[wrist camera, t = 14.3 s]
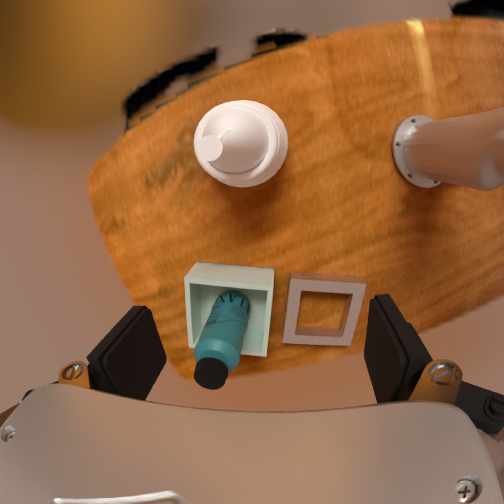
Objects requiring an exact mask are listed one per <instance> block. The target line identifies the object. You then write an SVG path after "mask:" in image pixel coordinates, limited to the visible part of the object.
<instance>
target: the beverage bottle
mask: <svg viewBox="0 0 504 504" xmlns="http://www.w3.org/2000/svg"><path fill="white" fill-rule="evenodd" d="M217 297H218V298H217V299H215V300H216V302H215V301H214V302H215V303H214V304H213V306H212V308H211V309H212V310H210V311H211V313H210V315H209V317H208V319H207V322H206V324H205V326H204V327H203V328H204V329H203V331H202V330H201V331H202V332H201V335H200V336H199V337H200V338H199V340H198V343H197V344H196V346H195V348H194V357H195V360H196V361H197V364H196V367H195V372H194V379H195V381H196V382H197V383H198V384H199V385H200V386H202V387H204V388H207V389H211V390H215V389H219V388H221V387H222V386H223V385H224V384H225V381H226V379H227V377H228V373H229V372H231V371H233V370H234V369H236V368H237V366H238V365H239V362H240V355H241V350H242V345H243V340H244V336H245V332H246V329H247V325H248V323H249V322H248V319H250V318H249V316H250V315H249V314H250V311H251V310H250V309H251V307H250V303H249V302H250V301H249V300H248V298H247V297H246V296H245V295H244V294H242V293H241V292H238V291H233V290H231V291H226V292H223V293H222V294H221V295H218V296H217Z"/></svg>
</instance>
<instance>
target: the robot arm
mask: <svg viewBox="0 0 504 504" xmlns="http://www.w3.org/2000/svg"><path fill="white" fill-rule="evenodd" d="M411 120H412V122H411ZM396 144H397V146H396ZM392 153H393V157H394V161H395V164H396V166H397V168H398V170H399V171H400V173H401V174H402V175H403V177H404V178H405V179H406V180H408V181H409V182H410V183H412V184H414V185H416V186H419V187H424V188H431V187H435V186H437V185H439V184H440V183H442V182H445V183H449V184H454V185H459V186H463V187H468V188H472V189H477V190H481V191H492V190H495V189H497V188H499V187H501V186H502V185H503V184H504V107H501V108H498V109H495V110H492V111H487V112H482V113H477V114H471V115H465V116H459V117H453V118H447V119H442V120H437V121H434V120H433V119H431V118H429V117H426V116H421V115H417V116H412V117H409V118H406V119H405V120H403V121H402V122H401V123H400V124H399V125H398V127H397V128H396V130H395V132H394V136H393V141H392ZM408 174H409V177H408ZM87 359H88V361H89V365H88V366H87V365H86V363H84V362H82V361H75V362H71V363H69V364H67V365H65V366H64V367H63V368H62V369H61V371H60V372H59V380H58V381H57V382H54V383H51V384H47V385H43V386H39V387H37V388H36V389H33V390H29V391H28V392H26V394H25V396H24V397H23V399H22V402H21V403H18V404H17V405H15V406H13V407H11V408H10V409H8V410H6V411H4V412H3V413H1V414H0V504H504V395H502V394H499V393H496V392H493V391H490V390H487V389H484V388H481V387H478V386H475V385H472V384H470V383H467V382H464V381H462V375H463V374H462V371H461V369H460V368H459V366H458V365H457V364H455V363H454V362H452V361H449V360H445V359H438V360H434V361H433V359H432V358H431V356H430V354H429V353H428V351H427V349H426V347H425V346H424V344H423V343H422V341H421V339H420V337H419V336H418V334H417V332H416V331H415V329H414V328H413V326H412V324H411V323H409V322H408V323H407V322H406V320H405V319H404V317H403V315H402V314H401V312H400V311H399V309H398V308H397V306H396V304H395V303H394V301H393V300H392V298H391V297H390V295H389V294H382V295H375V297H374V299H371V300H370V305H369V315H368V325H367V333H366V341H365V349H364V359H365V362H366V365H367V369H368V372H369V375H370V379H371V382H372V386H373V389H374V393H375V397H376V400H377V404H371V405H362V406H354V407H345V408H335V409H322V410H306V411H233V410H217V409H205V408H195V407H186V406H178V405H171V404H164V403H157V402H152V401H146V400H145V399H146V398H147V396H148V394H149V392H150V390H151V389H152V387H153V385H154V383H155V381H156V380H157V378H158V376H159V374H160V372H161V371H162V369H163V367H164V365H165V364H166V360H167V358H166V354H165V351H164V348H163V345H162V342H161V340H160V337H159V334H158V331H157V328H156V325H155V322H154V319H153V315H152V312H151V310H150V309H148V308H147V307H146V306H133V307H132V308H131V309H130V310H129V311H128V312H127V314H126V315H125V316H124V317H123V318H122V319H121V320H120V321H119V322H118V323H117V324H116V325H115V326H114V327H113V328H112V330H111V331H110V332H109V333H108V334H107V335H106V336H105V337H104V339H102V340H101V342H100V343H99V344H98V345H97V346H96V347H95V348H94V349H93V351H92V352H91V353H90V354H89V355H88V356H87Z"/></svg>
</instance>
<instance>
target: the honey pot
mask: <svg viewBox="0 0 504 504" xmlns="http://www.w3.org/2000/svg"><path fill="white" fill-rule="evenodd" d="M194 150H195V154H196V157H197V160H198V162H199V163H200V165H201V166H202V167H203V169H204V170H205V171H206V172H207V173H209V174H210V175H211V176H212V177H214V178H216V179H217V180H218V181H220V182H222V183H224V184H227V185H229V186H234V187H240V188H242V187H253V186H255V185H258V184H261V183H264V182H265V181H267V180H268V179H270V178H271V177H273V176H274V175H275V174H276V172H277V171H278V170H279V169H280V168H281V167H282V164H283V162H284V160H285V158H286V156H287V150H288V136H287V131H286V129H285V126H284V124H283V122H282V121H281V119H280V118H279V117H278V115H277V114H276V113H275V112H274V111H272V110H271V109H270V108H268V107H267V106H265V105H263V104H260V103H258V102H255V101H247V100H240V101H232V102H228V103H224V104H221V105H219V106H216V107H214V108H213V109H212V110H210V111H209V112H208V113H206V115H205V116H204V117H203V118H202V120H201V121H200V122H199V124H198V127H197V129H196V131H195V136H194Z"/></svg>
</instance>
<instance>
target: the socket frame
mask: <svg viewBox="0 0 504 504" xmlns="http://www.w3.org/2000/svg"><path fill="white" fill-rule="evenodd" d="M365 288H366V282H365V281H364V279H363V278H362V277H360V276H345V275H331V274H317V273H304V272H291V271H290V276H289V285H288V293H287V301H286V309H285V317H284V325H283V332H282V343H292V344H310V345H339V346H350V345H351V341H352V338H353V334H354V331H355V327H356V324H357V320H358V316H359V312H360V308H361V304H362V300H363V296H364V292H365ZM301 291H315V292H331V293H348V295H347V300H346V304H345V309H344V313H343V317H342V321H341V325H340V328H324V327H305V326H296V323H297V317H298V310H299V303H300V297H301Z"/></svg>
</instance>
